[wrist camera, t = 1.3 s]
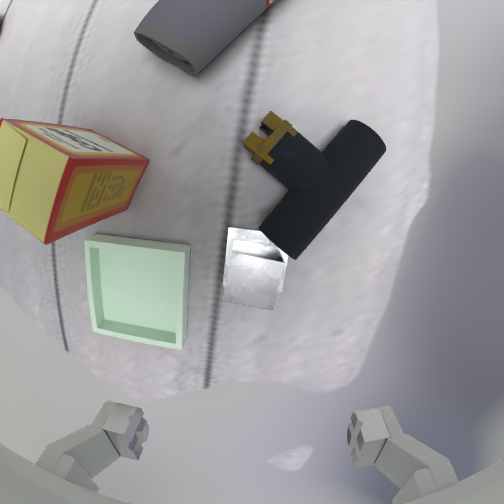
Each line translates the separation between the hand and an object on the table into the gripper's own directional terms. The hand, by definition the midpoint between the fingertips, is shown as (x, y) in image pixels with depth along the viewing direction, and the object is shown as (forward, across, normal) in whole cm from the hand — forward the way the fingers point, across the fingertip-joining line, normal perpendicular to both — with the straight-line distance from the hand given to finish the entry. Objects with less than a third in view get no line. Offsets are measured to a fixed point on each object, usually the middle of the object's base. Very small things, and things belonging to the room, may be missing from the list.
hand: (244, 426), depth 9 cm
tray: (+24, +15, +4) cm, 29 cm away
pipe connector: (+25, -4, -9) cm, 27 cm away
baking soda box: (+24, +18, -11) cm, 32 cm away
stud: (+25, 0, +1) cm, 25 cm away
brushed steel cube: (+24, +1, +2) cm, 24 cm away
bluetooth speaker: (+25, +1, -30) cm, 39 cm away
